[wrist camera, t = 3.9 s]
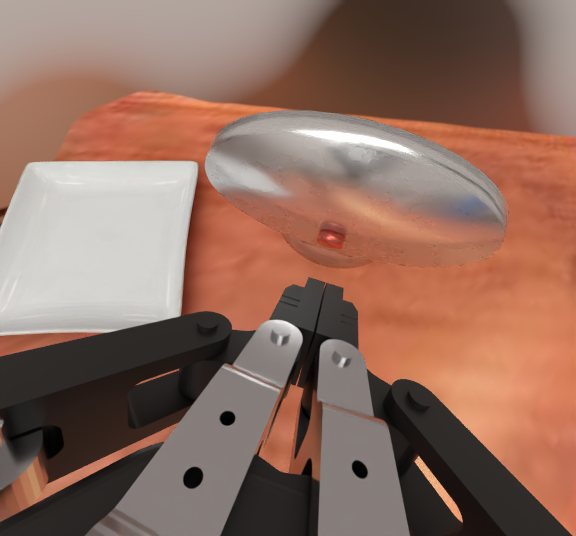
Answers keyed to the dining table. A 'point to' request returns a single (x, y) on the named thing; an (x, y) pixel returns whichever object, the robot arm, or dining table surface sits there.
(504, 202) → the lid
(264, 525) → the robot arm
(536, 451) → the dining table surface
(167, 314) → the square plate
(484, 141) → the dining table surface
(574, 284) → the dining table surface
